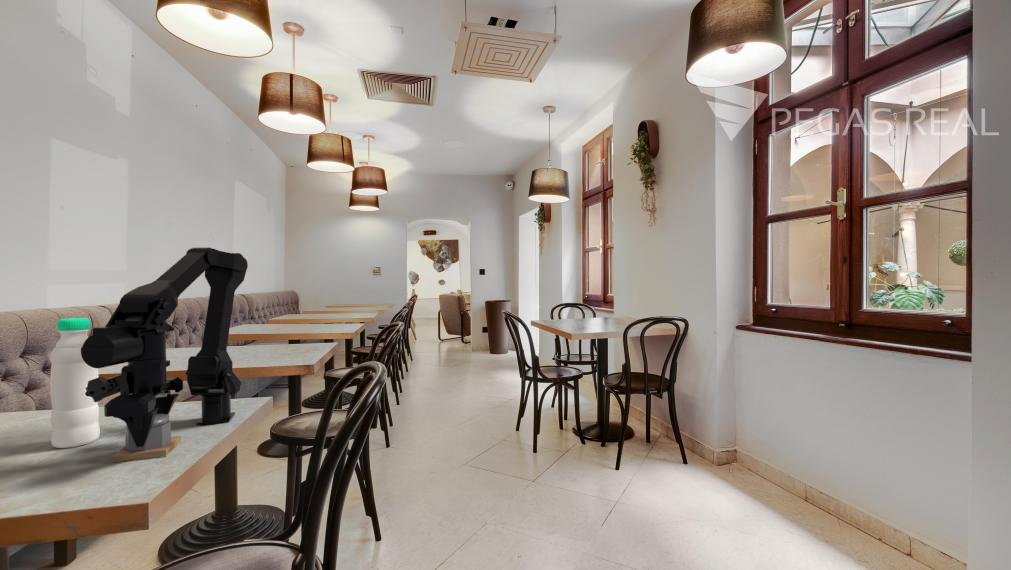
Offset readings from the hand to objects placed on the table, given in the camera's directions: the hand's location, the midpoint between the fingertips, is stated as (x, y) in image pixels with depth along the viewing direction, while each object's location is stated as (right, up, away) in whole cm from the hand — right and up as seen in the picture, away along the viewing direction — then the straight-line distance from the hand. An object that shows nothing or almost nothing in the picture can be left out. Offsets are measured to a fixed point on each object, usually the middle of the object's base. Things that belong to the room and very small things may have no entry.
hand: (148, 439), depth 86 cm
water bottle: (-18, -2, +5) cm, 19 cm away
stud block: (0, -2, 0) cm, 2 cm away
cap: (0, -1, 0) cm, 1 cm away
